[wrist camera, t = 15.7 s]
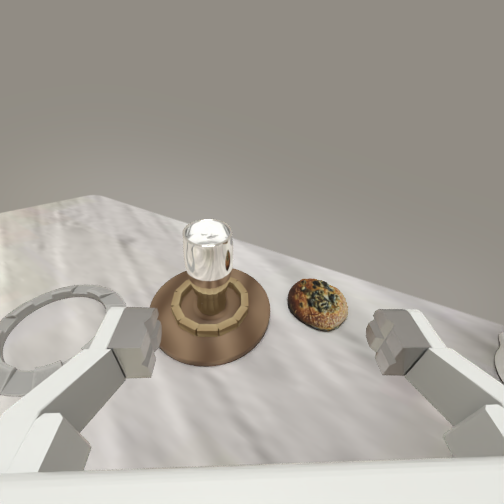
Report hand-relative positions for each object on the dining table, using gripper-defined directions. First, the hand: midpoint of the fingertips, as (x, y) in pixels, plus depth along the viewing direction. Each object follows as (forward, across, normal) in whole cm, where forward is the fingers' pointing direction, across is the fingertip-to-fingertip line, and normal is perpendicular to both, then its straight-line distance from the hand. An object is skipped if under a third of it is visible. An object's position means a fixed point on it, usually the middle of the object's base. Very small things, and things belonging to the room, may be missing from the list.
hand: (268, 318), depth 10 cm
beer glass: (+23, +5, +27) cm, 36 cm away
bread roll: (+24, -14, +28) cm, 40 cm away
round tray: (+23, +5, +28) cm, 37 cm away
